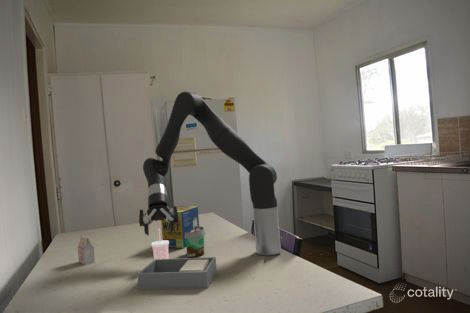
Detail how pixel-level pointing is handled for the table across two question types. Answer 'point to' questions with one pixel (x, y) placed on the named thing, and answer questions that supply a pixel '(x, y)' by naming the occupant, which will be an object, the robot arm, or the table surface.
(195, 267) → the beige rectangular block
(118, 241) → the table surface
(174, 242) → the protein box
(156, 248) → the beverage cup
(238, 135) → the robot arm
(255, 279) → the table surface
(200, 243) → the food container
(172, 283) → the tray
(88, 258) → the small milk carton
